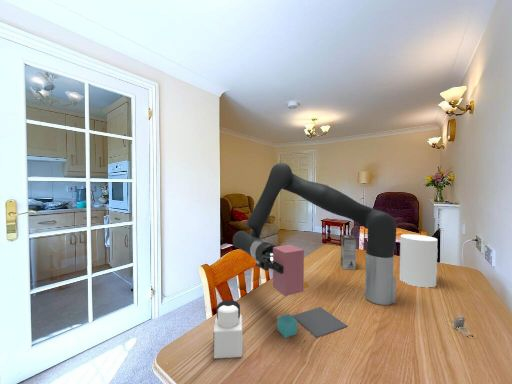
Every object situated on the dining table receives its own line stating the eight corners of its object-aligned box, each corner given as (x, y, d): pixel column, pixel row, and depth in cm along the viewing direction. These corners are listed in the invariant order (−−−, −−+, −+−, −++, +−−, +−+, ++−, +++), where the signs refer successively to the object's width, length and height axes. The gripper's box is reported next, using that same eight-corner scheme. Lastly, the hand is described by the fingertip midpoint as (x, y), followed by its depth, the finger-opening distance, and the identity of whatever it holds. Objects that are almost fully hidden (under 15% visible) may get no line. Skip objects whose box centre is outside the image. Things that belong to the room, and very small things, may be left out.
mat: (320, 307, 82) (320, 306, 82) (347, 326, 71) (347, 325, 71) (292, 316, 76) (292, 315, 76) (316, 337, 66) (316, 336, 66)
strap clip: (478, 339, 66) (479, 324, 66) (469, 340, 66) (469, 325, 65) (450, 321, 74) (451, 308, 74) (441, 322, 74) (442, 309, 74)
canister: (402, 284, 101) (404, 239, 100) (396, 273, 113) (398, 233, 112) (441, 290, 96) (442, 242, 95) (430, 278, 108) (431, 235, 107)
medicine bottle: (216, 340, 64) (215, 297, 64) (241, 338, 65) (241, 296, 65) (213, 359, 57) (213, 311, 57) (242, 357, 58) (242, 310, 58)
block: (288, 326, 71) (288, 313, 71) (296, 334, 67) (296, 320, 67) (277, 330, 69) (277, 317, 69) (285, 338, 66) (285, 324, 65)
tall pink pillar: (290, 282, 72) (290, 244, 72) (303, 291, 66) (303, 250, 66) (272, 286, 69) (273, 247, 69) (284, 296, 63) (284, 252, 63)
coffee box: (340, 263, 128) (340, 234, 127) (352, 264, 127) (352, 234, 126) (342, 269, 119) (343, 238, 118) (356, 270, 118) (356, 238, 117)
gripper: (245, 244, 77) (270, 258, 62) (282, 239, 83) (313, 251, 68) (245, 266, 77) (270, 286, 62) (282, 260, 84) (312, 276, 69)
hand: (292, 268), depth 65 cm, fingers closed on tall pink pillar, 6 cm apart
